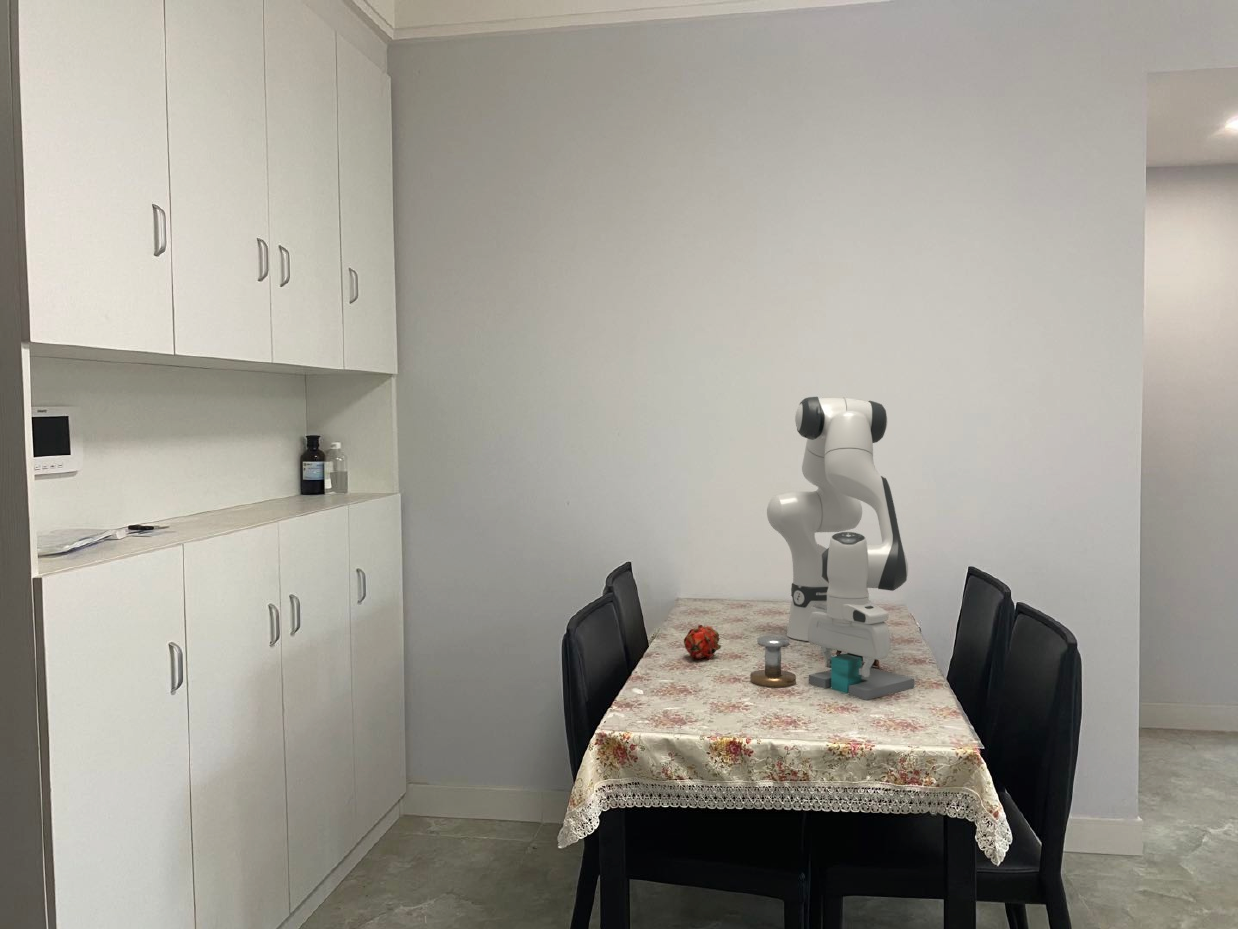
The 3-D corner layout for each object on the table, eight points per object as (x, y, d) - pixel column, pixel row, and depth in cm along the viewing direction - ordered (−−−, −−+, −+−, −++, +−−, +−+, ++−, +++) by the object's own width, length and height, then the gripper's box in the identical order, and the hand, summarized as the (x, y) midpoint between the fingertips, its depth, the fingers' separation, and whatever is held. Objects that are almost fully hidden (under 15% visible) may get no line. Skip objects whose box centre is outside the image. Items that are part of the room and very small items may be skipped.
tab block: (844, 685, 220) (845, 654, 219) (861, 690, 216) (861, 658, 216) (831, 689, 217) (831, 657, 217) (847, 693, 213) (847, 661, 213)
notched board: (856, 672, 231) (856, 664, 230) (914, 687, 218) (914, 678, 218) (808, 683, 221) (808, 674, 221) (866, 700, 208) (866, 690, 208)
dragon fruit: (713, 658, 251) (697, 676, 240) (686, 637, 253) (669, 654, 242) (731, 634, 247) (716, 651, 237) (704, 612, 249) (687, 629, 239)
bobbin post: (772, 673, 230) (772, 632, 229) (805, 682, 222) (805, 640, 221) (741, 680, 224) (741, 638, 223) (773, 690, 216) (773, 646, 215)
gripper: (801, 603, 222) (800, 664, 223) (875, 617, 206) (874, 684, 206) (820, 599, 226) (820, 660, 227) (895, 614, 210) (894, 679, 210)
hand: (846, 672), depth 216 cm, fingers open, 8 cm apart
